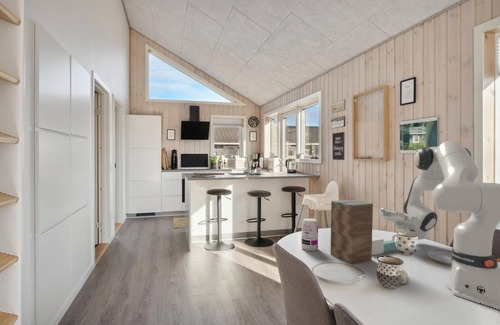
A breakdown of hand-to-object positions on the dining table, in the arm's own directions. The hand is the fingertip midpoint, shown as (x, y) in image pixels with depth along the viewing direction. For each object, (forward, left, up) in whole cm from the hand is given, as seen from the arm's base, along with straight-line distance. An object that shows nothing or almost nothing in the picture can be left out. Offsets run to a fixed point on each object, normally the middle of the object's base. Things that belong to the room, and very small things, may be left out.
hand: (389, 211), depth 152 cm
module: (0, +6, -20) cm, 20 cm away
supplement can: (+18, +36, -20) cm, 45 cm away
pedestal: (0, +26, -20) cm, 33 cm away
